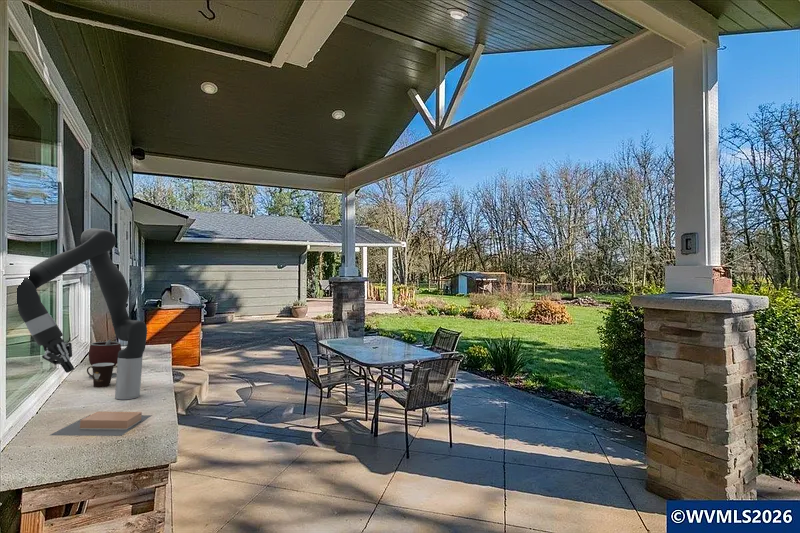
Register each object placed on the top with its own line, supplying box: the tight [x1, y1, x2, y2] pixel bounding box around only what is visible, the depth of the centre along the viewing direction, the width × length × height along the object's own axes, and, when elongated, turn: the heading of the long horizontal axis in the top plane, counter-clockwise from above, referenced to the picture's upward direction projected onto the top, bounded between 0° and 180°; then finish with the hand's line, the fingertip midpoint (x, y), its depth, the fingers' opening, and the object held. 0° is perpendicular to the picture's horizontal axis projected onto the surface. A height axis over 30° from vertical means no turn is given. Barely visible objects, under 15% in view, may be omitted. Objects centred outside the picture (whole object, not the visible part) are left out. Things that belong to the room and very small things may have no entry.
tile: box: [79, 410, 143, 430], centre depth 152 cm, size 10×3×15 cm
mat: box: [49, 414, 153, 437], centre depth 152 cm, size 22×22×1 cm
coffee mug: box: [86, 363, 115, 388], centre depth 206 cm, size 12×9×10 cm
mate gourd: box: [88, 339, 122, 380], centre depth 223 cm, size 16×14×20 cm
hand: (70, 371), depth 156 cm, fingers closed
